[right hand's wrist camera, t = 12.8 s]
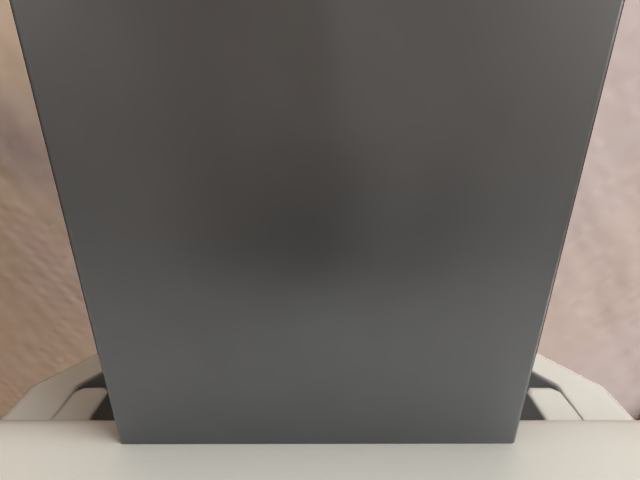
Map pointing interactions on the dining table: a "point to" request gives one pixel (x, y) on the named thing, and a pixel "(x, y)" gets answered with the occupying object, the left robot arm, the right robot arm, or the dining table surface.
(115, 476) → the right robot arm
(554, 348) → the dining table surface
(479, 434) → the bar
